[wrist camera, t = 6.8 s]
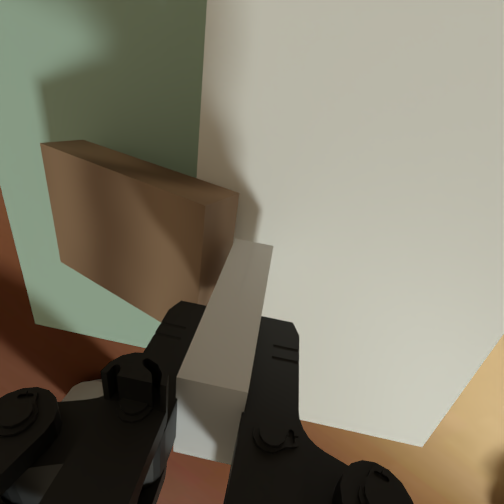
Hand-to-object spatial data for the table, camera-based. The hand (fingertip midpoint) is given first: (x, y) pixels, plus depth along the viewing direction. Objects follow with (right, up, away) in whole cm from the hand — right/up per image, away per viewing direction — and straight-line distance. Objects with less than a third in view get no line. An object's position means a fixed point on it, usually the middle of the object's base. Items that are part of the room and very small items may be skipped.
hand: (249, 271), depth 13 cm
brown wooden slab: (-5, +2, +2) cm, 5 cm away
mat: (-8, +4, +5) cm, 10 cm away
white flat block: (+5, +2, +4) cm, 7 cm away
